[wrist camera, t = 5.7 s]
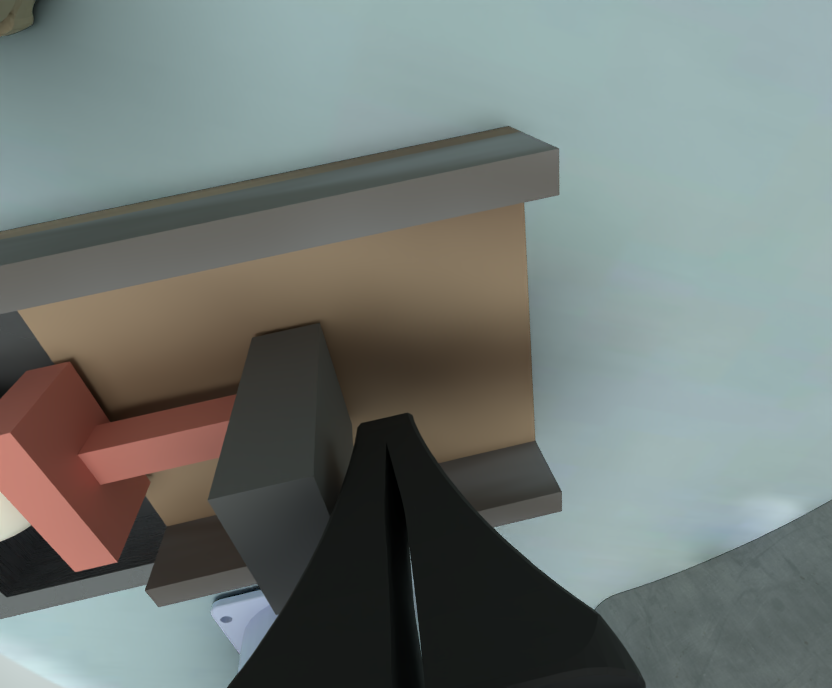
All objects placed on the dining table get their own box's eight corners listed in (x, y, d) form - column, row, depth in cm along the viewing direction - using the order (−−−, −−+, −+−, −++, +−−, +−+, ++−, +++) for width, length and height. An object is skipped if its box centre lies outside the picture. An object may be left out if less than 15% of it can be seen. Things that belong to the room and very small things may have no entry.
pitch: (527, 441, 20) (561, 511, 17) (184, 521, 19) (158, 607, 16) (508, 126, 13) (558, 148, 10) (-5, 232, 13) (-104, 288, 10)
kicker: (355, 435, 17) (366, 606, 12) (115, 490, 16) (17, 691, 11) (314, 307, 14) (305, 456, 9) (26, 370, 14) (-155, 562, 9)
